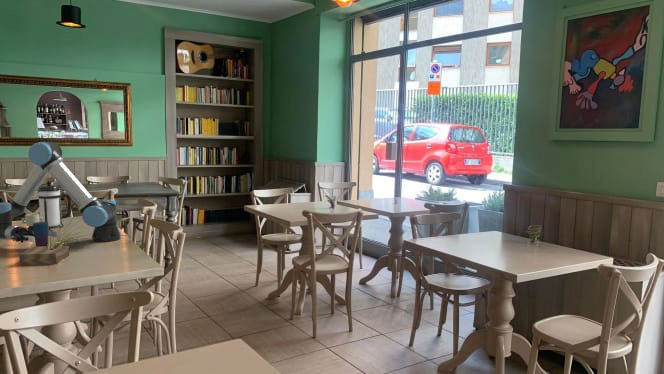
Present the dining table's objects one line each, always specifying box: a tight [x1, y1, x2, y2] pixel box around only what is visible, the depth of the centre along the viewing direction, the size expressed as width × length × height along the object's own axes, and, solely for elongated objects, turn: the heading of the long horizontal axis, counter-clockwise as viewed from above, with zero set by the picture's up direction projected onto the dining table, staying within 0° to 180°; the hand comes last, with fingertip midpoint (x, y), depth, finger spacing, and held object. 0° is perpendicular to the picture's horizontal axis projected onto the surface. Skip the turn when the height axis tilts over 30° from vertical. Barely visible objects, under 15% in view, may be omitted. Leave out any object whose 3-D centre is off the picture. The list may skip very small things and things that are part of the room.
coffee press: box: [35, 180, 72, 228], centre depth 327 cm, size 17×16×30 cm
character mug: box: [21, 213, 43, 236], centre depth 299 cm, size 11×7×13 cm, turn 118°
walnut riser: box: [18, 245, 70, 266], centre depth 245 cm, size 16×16×5 cm
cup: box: [33, 222, 49, 247], centre depth 262 cm, size 7×7×15 cm
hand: (45, 236), depth 260 cm, fingers open, 13 cm apart
